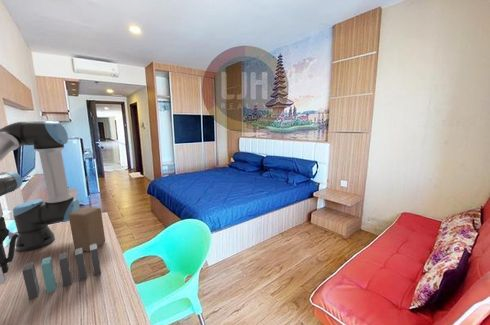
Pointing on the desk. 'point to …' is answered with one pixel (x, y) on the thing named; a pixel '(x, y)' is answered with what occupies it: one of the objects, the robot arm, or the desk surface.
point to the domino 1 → (31, 280)
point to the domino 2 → (48, 274)
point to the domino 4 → (80, 264)
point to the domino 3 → (65, 269)
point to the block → (87, 228)
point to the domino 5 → (95, 259)
